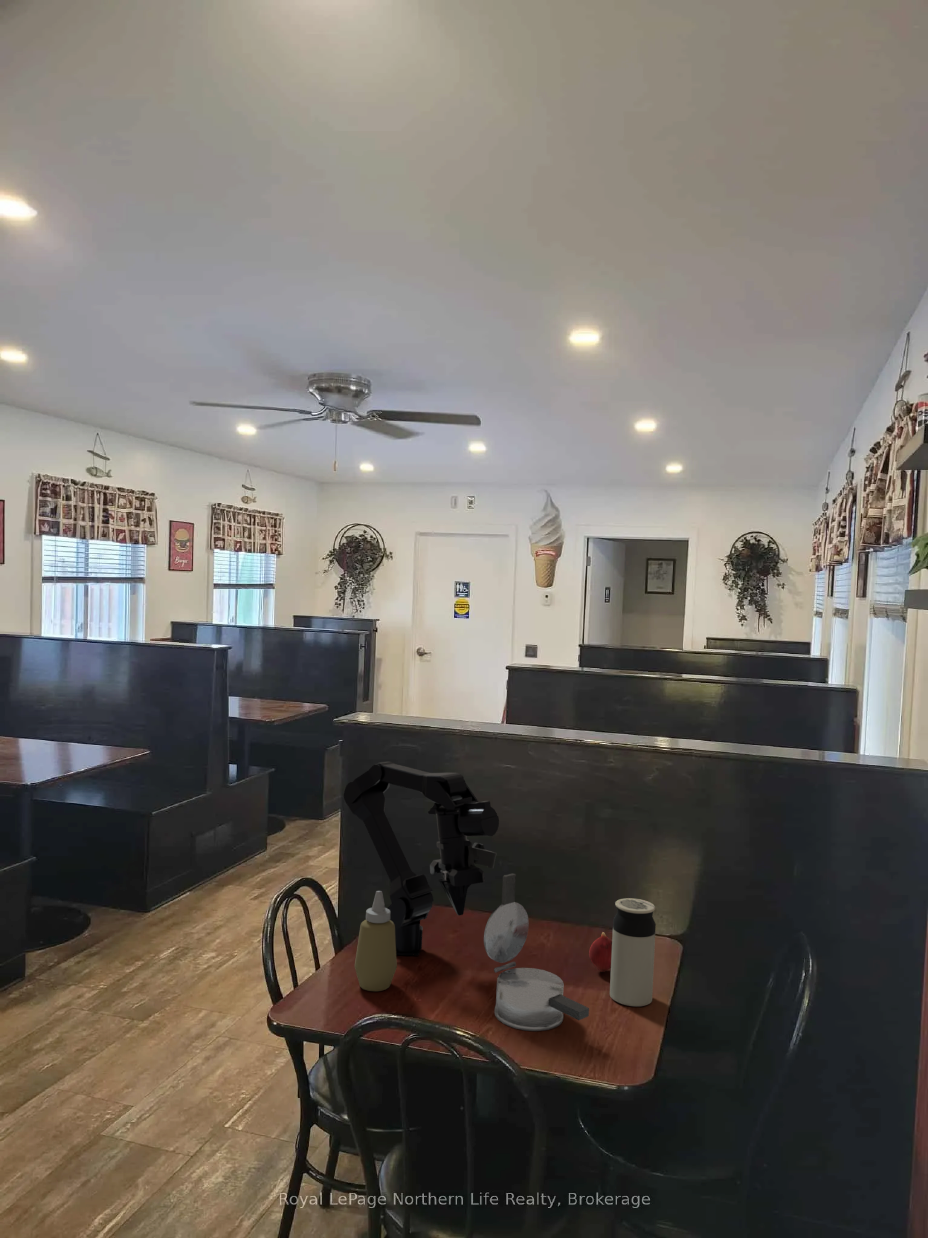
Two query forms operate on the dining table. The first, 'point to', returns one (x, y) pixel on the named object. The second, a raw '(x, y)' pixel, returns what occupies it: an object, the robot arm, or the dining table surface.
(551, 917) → the dining table surface
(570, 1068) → the dining table surface
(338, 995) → the dining table surface
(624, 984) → the travel mug
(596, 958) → the onion
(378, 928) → the squeeze bottle
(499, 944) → the lid
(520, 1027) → the pot
